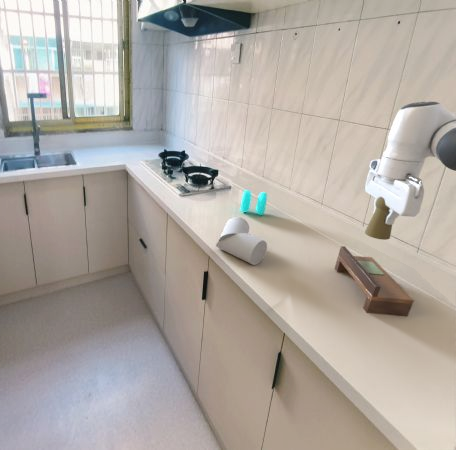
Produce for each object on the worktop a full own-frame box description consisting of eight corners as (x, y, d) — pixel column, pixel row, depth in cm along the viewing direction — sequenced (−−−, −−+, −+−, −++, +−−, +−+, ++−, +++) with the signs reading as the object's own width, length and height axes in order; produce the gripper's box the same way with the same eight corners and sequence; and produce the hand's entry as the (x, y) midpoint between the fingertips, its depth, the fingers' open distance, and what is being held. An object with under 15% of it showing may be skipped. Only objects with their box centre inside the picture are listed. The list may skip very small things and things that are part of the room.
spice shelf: (367, 271, 106) (374, 248, 103) (407, 316, 86) (418, 290, 83) (334, 268, 107) (340, 246, 104) (366, 312, 87) (375, 286, 84)
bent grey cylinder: (198, 243, 117) (245, 267, 103) (205, 214, 114) (254, 234, 100) (228, 240, 129) (274, 261, 115) (236, 213, 126) (284, 232, 112)
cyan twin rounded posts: (241, 207, 154) (244, 186, 150) (264, 211, 151) (268, 189, 147) (239, 215, 146) (242, 193, 142) (263, 219, 143) (267, 196, 139)
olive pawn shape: (368, 237, 91) (381, 199, 87) (361, 229, 96) (373, 192, 92) (393, 240, 90) (407, 202, 85) (385, 231, 95) (397, 194, 91)
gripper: (439, 181, 76) (418, 236, 82) (391, 161, 95) (376, 207, 100) (409, 179, 76) (390, 234, 82) (367, 159, 95) (354, 205, 101)
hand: (382, 219), depth 91 cm, fingers closed on olive pawn shape, 4 cm apart
